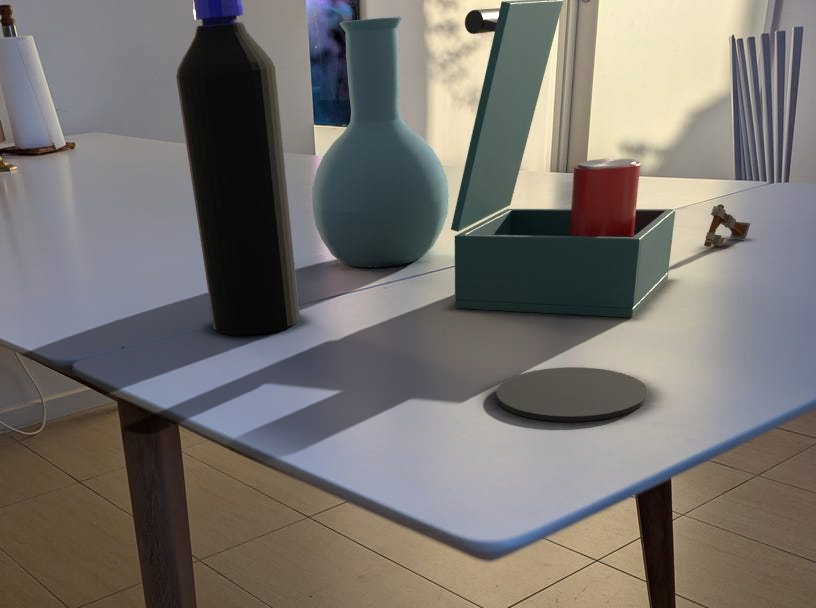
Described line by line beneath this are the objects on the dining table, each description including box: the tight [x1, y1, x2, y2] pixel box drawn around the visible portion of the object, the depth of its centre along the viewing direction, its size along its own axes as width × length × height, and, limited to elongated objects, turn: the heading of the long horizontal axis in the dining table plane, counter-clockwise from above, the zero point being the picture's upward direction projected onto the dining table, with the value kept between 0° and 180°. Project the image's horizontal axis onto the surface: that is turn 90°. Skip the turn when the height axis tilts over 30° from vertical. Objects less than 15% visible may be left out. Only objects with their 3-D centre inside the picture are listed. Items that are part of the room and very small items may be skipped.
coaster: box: [495, 366, 649, 423], centre depth 68 cm, size 11×11×1 cm
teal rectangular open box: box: [454, 208, 676, 319], centre depth 91 cm, size 18×15×7 cm
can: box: [570, 157, 641, 237], centre depth 88 cm, size 6×6×11 cm
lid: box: [450, 0, 564, 233], centre depth 88 cm, size 18×15×5 cm
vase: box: [311, 15, 450, 268], centre depth 108 cm, size 16×16×25 cm
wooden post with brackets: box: [703, 203, 751, 248], centre depth 106 cm, size 2×8×4 cm, turn 133°
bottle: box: [175, 0, 300, 337], centre depth 85 cm, size 9×9×28 cm
